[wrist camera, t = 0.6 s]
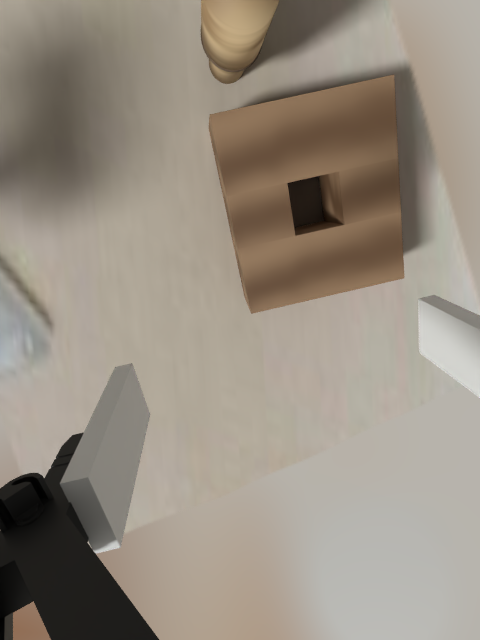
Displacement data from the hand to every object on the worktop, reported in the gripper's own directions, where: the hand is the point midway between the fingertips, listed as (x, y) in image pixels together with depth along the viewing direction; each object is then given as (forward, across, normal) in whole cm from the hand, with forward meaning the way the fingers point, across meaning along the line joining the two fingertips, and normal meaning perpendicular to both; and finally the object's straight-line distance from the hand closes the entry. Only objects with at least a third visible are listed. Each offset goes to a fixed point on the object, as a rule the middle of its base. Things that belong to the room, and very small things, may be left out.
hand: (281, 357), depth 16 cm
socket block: (+26, +8, +4) cm, 27 cm away
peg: (+26, +3, +18) cm, 32 cm away
